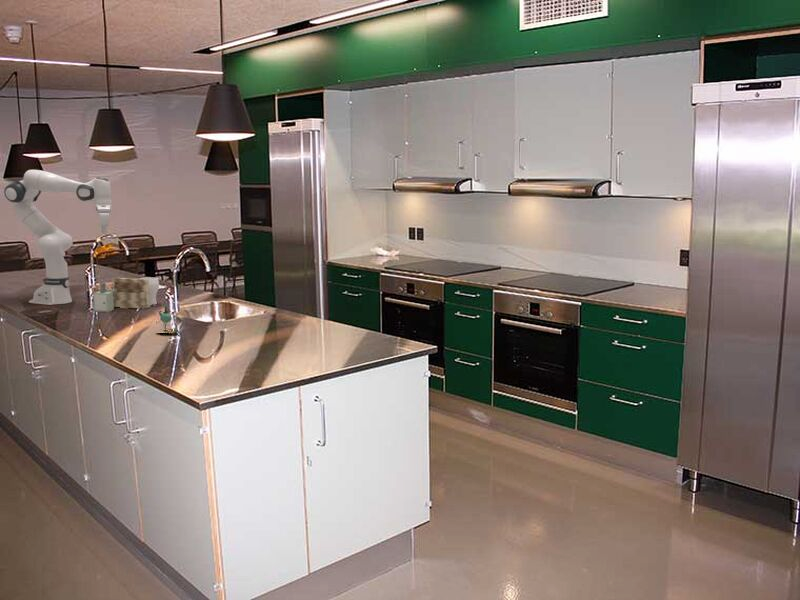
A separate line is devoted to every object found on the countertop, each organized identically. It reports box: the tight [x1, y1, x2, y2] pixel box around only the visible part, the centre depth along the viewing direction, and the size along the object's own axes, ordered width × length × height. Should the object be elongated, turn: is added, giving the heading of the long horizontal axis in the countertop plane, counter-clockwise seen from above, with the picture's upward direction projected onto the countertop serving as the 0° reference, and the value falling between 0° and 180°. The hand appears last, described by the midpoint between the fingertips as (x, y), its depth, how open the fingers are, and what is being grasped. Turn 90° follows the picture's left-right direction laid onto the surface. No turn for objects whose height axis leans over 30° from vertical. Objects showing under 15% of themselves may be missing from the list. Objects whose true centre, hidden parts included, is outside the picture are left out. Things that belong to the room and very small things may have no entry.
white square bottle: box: [92, 282, 115, 313], centre depth 406 cm, size 8×9×15 cm
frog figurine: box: [155, 304, 180, 334], centre depth 356 cm, size 10×18×15 cm, turn 41°
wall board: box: [111, 277, 152, 309], centre depth 416 cm, size 20×7×16 cm, turn 82°
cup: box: [139, 276, 160, 305], centre depth 426 cm, size 11×11×15 cm
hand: (104, 233), depth 410 cm, fingers open, 8 cm apart
